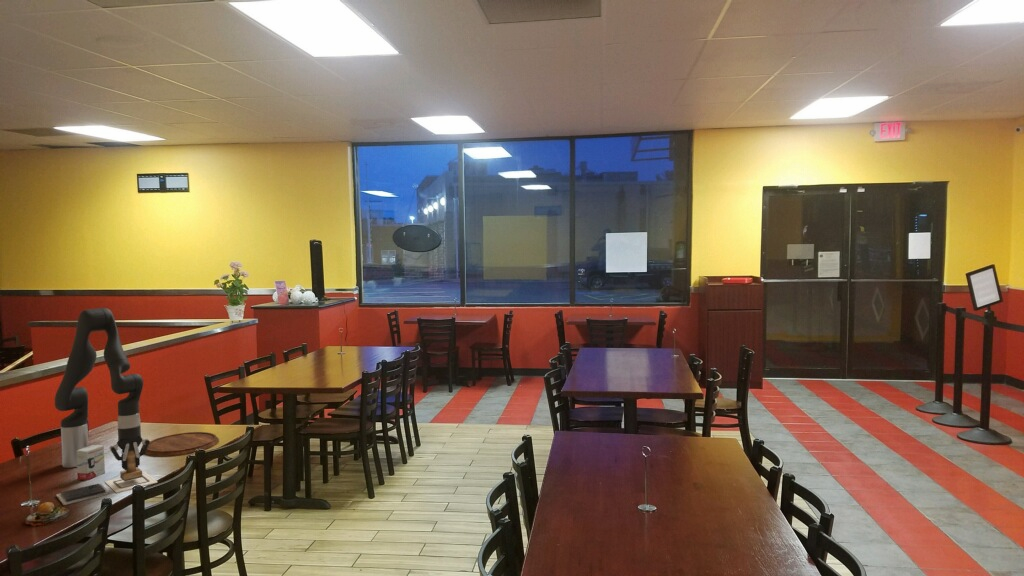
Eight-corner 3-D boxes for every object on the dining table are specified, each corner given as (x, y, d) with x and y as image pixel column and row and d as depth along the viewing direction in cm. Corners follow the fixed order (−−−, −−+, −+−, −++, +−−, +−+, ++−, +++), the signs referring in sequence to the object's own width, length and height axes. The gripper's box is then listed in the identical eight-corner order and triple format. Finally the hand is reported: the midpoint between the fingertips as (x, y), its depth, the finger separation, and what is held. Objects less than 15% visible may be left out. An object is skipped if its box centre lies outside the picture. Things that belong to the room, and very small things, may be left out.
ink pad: (56, 496, 221) (56, 492, 221) (101, 485, 232) (100, 482, 232) (63, 505, 213) (63, 501, 213) (109, 493, 224) (109, 490, 223)
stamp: (120, 477, 235) (119, 449, 234) (137, 473, 239) (136, 445, 238) (124, 481, 230) (123, 453, 230) (142, 477, 235) (141, 449, 234)
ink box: (86, 480, 237) (85, 451, 237) (76, 479, 238) (75, 450, 238) (105, 472, 246) (104, 444, 245) (95, 472, 247) (94, 444, 246)
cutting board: (165, 462, 259) (165, 456, 259) (128, 450, 276) (127, 444, 276) (233, 442, 287) (233, 437, 286) (195, 432, 303) (195, 427, 303)
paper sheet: (105, 482, 235) (105, 481, 235) (145, 472, 245) (145, 471, 245) (116, 493, 224) (116, 491, 224) (157, 482, 235) (157, 481, 235)
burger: (77, 511, 209) (76, 490, 209) (52, 526, 197) (52, 504, 197) (42, 511, 209) (41, 491, 208) (15, 527, 197) (14, 505, 196)
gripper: (146, 419, 241) (148, 461, 242) (105, 427, 231) (107, 470, 232) (152, 423, 236) (153, 465, 237) (110, 430, 226) (112, 475, 227)
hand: (130, 468), depth 235 cm, fingers closed on stamp, 3 cm apart
